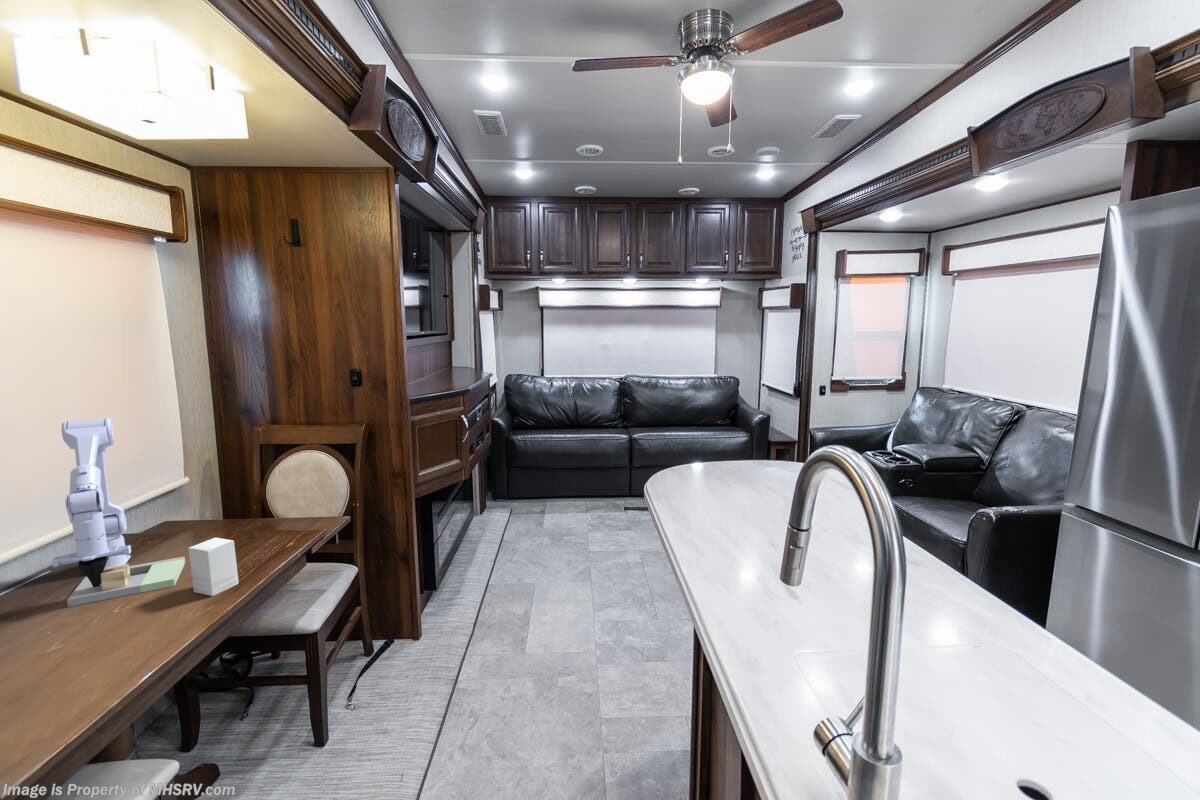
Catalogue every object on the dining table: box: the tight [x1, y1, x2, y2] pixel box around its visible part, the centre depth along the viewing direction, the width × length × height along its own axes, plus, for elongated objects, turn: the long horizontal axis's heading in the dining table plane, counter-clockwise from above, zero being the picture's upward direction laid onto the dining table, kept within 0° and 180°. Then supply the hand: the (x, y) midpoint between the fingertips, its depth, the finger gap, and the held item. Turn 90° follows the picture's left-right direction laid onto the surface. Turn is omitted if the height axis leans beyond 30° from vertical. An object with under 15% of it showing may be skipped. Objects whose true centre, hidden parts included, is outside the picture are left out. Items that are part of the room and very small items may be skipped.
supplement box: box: [188, 537, 239, 597], centre depth 138 cm, size 7×7×13 cm
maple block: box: [101, 563, 130, 591], centre depth 136 cm, size 4×4×4 cm
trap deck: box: [66, 556, 186, 608], centre depth 141 cm, size 16×21×2 cm
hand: (97, 585), depth 134 cm, fingers closed
